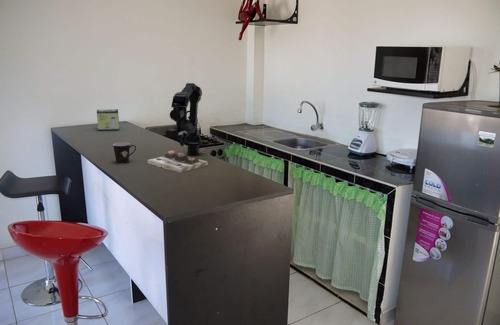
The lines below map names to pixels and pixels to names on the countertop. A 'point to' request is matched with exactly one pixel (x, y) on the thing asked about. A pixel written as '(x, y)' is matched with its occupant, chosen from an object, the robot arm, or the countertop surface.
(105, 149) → the countertop surface
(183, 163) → the button board
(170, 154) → the button
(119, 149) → the coffee mug
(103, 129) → the protein box
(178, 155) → the middle button
